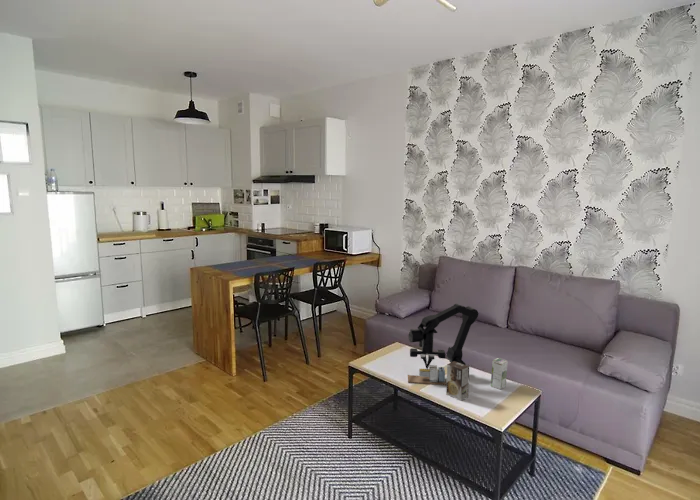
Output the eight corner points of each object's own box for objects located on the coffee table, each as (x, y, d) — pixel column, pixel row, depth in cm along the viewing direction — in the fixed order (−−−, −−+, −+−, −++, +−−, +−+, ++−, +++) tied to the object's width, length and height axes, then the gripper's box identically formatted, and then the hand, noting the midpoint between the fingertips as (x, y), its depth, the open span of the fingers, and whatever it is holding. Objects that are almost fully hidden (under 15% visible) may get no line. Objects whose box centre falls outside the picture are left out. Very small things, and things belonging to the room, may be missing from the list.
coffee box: (468, 397, 209) (470, 366, 206) (461, 401, 204) (462, 369, 202) (453, 390, 215) (454, 360, 213) (445, 394, 211) (446, 363, 209)
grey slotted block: (429, 381, 223) (430, 370, 222) (428, 376, 229) (429, 364, 228) (437, 382, 222) (437, 370, 221) (436, 376, 229) (436, 365, 228)
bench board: (444, 378, 229) (444, 377, 229) (446, 385, 221) (446, 383, 221) (407, 376, 231) (407, 375, 231) (408, 382, 223) (408, 381, 223)
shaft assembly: (419, 381, 224) (419, 369, 223) (419, 376, 229) (419, 365, 228) (444, 382, 222) (445, 370, 222) (443, 378, 228) (443, 366, 227)
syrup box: (495, 383, 224) (497, 357, 222) (506, 386, 220) (507, 360, 218) (490, 386, 220) (491, 360, 218) (501, 390, 216) (502, 363, 214)
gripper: (443, 336, 233) (442, 363, 235) (410, 335, 235) (409, 361, 237) (446, 343, 222) (445, 371, 224) (410, 342, 224) (409, 369, 226)
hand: (426, 368), depth 228 cm, fingers closed
